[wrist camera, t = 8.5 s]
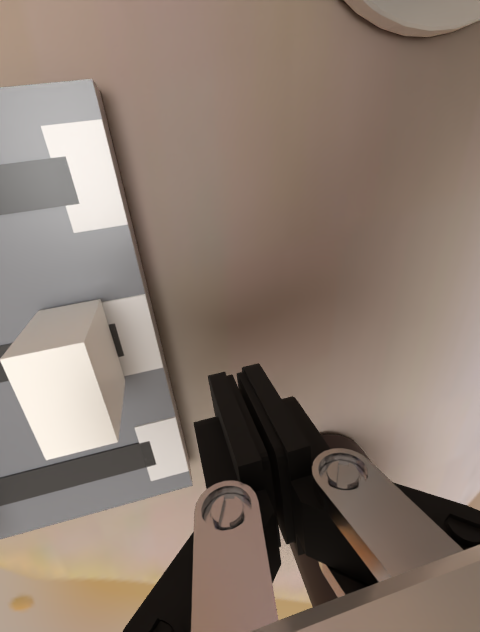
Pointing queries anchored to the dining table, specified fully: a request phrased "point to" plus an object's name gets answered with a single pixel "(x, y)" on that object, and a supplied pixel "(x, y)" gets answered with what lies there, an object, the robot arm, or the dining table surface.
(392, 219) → the dining table surface
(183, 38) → the dining table surface
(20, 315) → the breaker panel
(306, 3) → the dining table surface
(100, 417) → the handle
